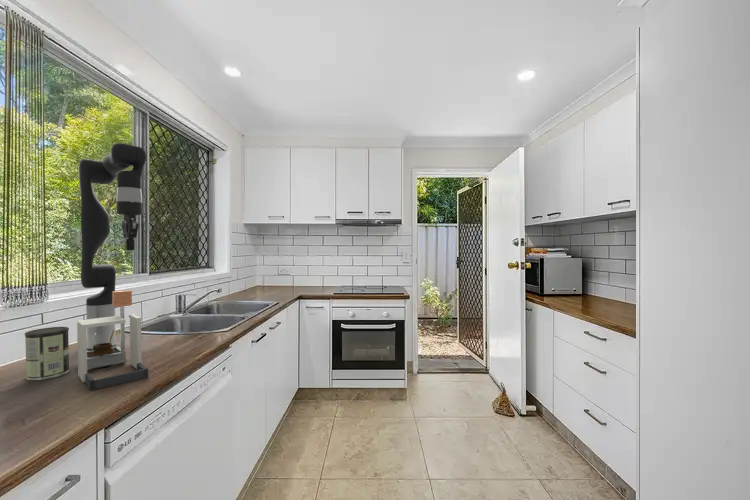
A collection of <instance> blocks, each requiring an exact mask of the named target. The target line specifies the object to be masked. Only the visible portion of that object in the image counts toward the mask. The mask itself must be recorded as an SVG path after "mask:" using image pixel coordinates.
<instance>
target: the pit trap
mask: <svg viewBox="0 0 750 500" xmlns="http://www.w3.org/2000/svg"><path fill="white" fill-rule="evenodd" d="M147 378H149V369H148V368H147V367H146V366H145V365H144V364H141V363H137V369H136V370H134V371H129V372H124V373H119V374H115V375H111V376H105V377H102V378H97V379H95V378H94V377H93V376H92V374H91V373H88V372H87V374H85V382H84V383H85V385H87V387H88V389H89V391H95V390H100V389H104V388H107V387H112V386H116V385H121V384H125V383H129V382H133V381H134V382H135V381H138V380H143V379H147Z"/></svg>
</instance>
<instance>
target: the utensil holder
mask: <svg viewBox="0 0 750 500" xmlns="http://www.w3.org/2000/svg"><path fill="white" fill-rule="evenodd" d="M113 333H114V329H113V332H112V335H111V338H110V342H109V343H100V344H96V345H95V344H94V346H93V349H92V351H93V350H94V351H93V352H92V357H97V356H103V355H108V354H114V353H113V349H112V348H111V347H113V346H112V343H111V339H112V337H113ZM95 334H97V333H95ZM98 335H99V334H98ZM98 335H96V336H98ZM93 337H94V334H93ZM99 337H100V336H99ZM98 339H99V338H98ZM98 339H97V340H98ZM93 343H94V342H93ZM104 367H110V365H108V366H103V367H102V368H104ZM98 368H101V367H98Z"/></svg>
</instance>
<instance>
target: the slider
mask: <svg viewBox="0 0 750 500" xmlns="http://www.w3.org/2000/svg"><path fill="white" fill-rule="evenodd" d="M132 295H133V293H132V290H130V289H126V290H115V291H112V306H113V307H115V308H118V307H119V314H120V315H119V316H120V317H121V318H123V319H125V307H127V306H132V305H133V297H132ZM119 325H120V326H119V327H120V329H119V330H120V331H119V333H120V346H119V345H117V346H112V347H111V348H112V349H113V353H114V354H108V355H103V356H97V357H92V352H93V351H94V350H93V349H92V350H87V370H91V369H97V368H98V367H100V368H104V367H103V366H106V367H109V366H112V365H117V364H121V363H127V351H126V339H125V337H126V336H125V335H126V334H125V330H126V329H125V325H126V323H121V324H119ZM108 365H109V366H108Z"/></svg>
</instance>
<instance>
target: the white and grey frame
mask: <svg viewBox="0 0 750 500" xmlns="http://www.w3.org/2000/svg"><path fill="white" fill-rule="evenodd" d="M128 318H129V346H130V347H129V350H130V353H129V356H130V357H129V358H130V365H131V366H132V367H133V368H135V369H136V370H137V363H141V364H142V363H143V362H142V357H143V356H142V353H143V352H142V317H140V316H138V315H136V314H134V313H131V314H130V313H129V314H128ZM126 322H127V321H126V319H125V318H124V319H123V318H121V317H120V315H115V316H112V317H104V318H95V319H87V318H86V319H81V320H80V319H79V320H77V321H76V327H77V328H76V329H77V330H76V331H77V335H76V337H77V338H76V339H77V375H78V377H79V378H80V380H81V382H82V383H86V382H85V374H88V369H87V351H88V349H87V328H90V327H98V326H106V325H113V324H115V325H120V324H121V323H125V324H126ZM142 365H143V364H142Z"/></svg>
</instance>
